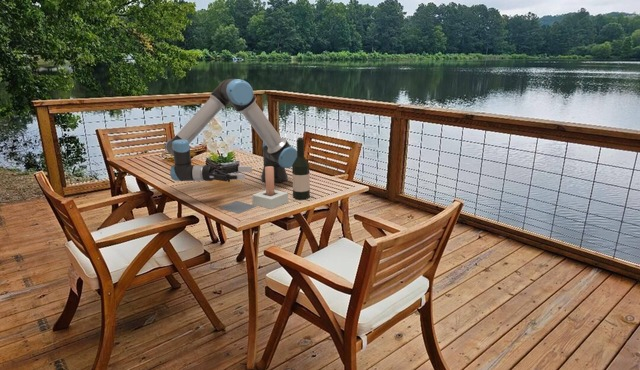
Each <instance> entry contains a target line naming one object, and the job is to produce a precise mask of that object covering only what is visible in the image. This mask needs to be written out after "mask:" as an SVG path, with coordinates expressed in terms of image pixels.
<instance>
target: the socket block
mask: <svg viewBox="0 0 640 370" xmlns="http://www.w3.org/2000/svg"><path fill="white" fill-rule="evenodd" d="M274 191H275V195H273V196H267V195H266V189H265V190H261V191H260V192H256V193H254V194H252V198H251V200H252V205H254V206H257V207H258V206H259V207H263V208H266V209H270V210H273V209H275V208H278V207H281V206H283V205H285V204H287V203H289V192H286V191H281V190H276V189H274Z"/></svg>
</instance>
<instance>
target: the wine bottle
mask: <svg viewBox="0 0 640 370" xmlns="http://www.w3.org/2000/svg"><path fill="white" fill-rule="evenodd" d="M296 150H297V158H296V160H295V161H294V163H293V165H292V167H291V169H292V171H291V172H292V198H293V199H294V200H295V201H296V200H297V201H304V200H308V199H309V198H311V194H310V193H311V192H310V191H311V190H310V189H311V187H310V184H311V183H310V180H311V178H310V177H311V176H310V164H309V161H308V160H307V159H306V157H305V140H304V137H302V136H301V137H297V139H296Z"/></svg>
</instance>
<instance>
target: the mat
mask: <svg viewBox="0 0 640 370" xmlns="http://www.w3.org/2000/svg"><path fill="white" fill-rule="evenodd" d="M219 207H220V206H219ZM257 207H258V205H254V204H250V203H245V202H242V201H239V200H235V201H231V202H229V203H226V204H224V205H221V207H220V208H219V209H220V210H224V211H228V212H232V213H234V214H238V215H239V214H241V213H244V212H246V211H250V210H252V209H254V208H257Z"/></svg>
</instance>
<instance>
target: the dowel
mask: <svg viewBox="0 0 640 370" xmlns="http://www.w3.org/2000/svg"><path fill="white" fill-rule="evenodd" d="M265 180H266V182H265V190H266V195H267V196H273V195H275V191H274V190H275V183H274V167H273V166H267V167H265Z"/></svg>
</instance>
